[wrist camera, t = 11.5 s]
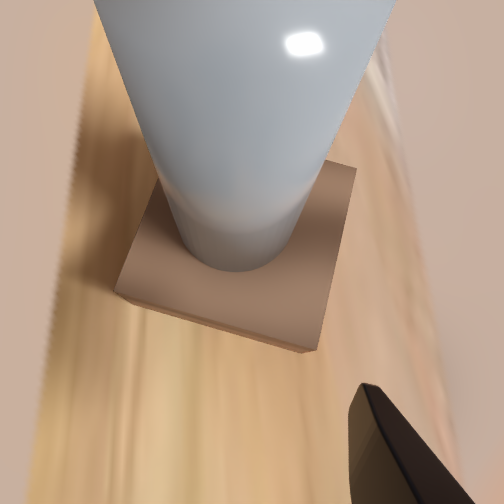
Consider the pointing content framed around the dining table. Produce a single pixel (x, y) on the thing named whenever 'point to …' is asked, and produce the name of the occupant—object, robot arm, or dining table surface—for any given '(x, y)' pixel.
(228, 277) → the walnut box
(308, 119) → the grey cylinder
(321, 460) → the dining table surface
